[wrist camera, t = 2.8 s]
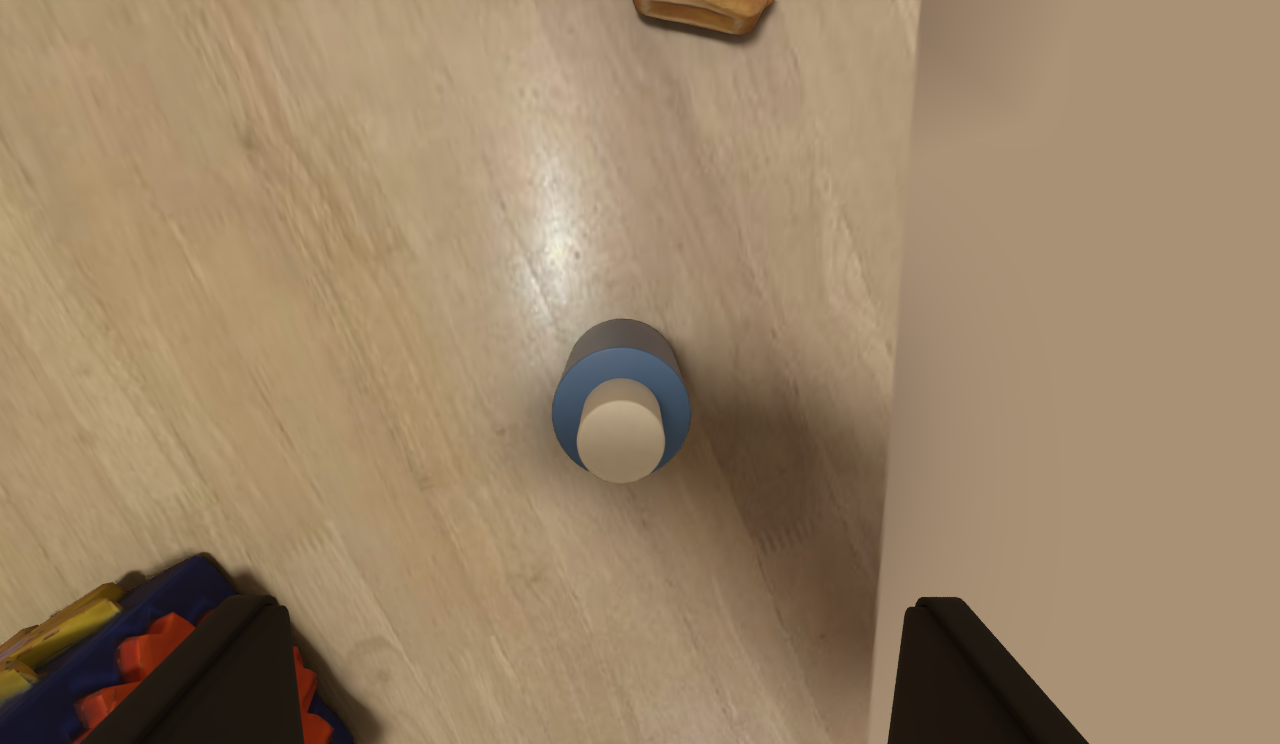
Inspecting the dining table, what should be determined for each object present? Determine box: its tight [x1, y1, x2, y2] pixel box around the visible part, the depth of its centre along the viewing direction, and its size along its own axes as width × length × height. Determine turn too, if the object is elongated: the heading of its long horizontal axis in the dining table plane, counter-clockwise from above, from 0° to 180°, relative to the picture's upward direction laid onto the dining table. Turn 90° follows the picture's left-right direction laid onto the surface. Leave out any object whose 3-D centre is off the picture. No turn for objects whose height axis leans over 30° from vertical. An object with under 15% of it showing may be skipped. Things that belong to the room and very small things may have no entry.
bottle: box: [552, 319, 691, 483], centre depth 26 cm, size 5×5×10 cm
